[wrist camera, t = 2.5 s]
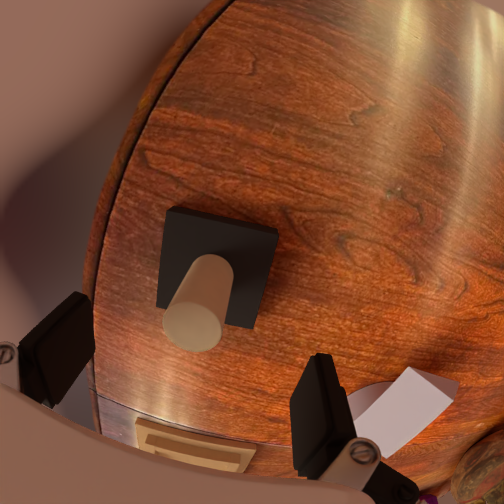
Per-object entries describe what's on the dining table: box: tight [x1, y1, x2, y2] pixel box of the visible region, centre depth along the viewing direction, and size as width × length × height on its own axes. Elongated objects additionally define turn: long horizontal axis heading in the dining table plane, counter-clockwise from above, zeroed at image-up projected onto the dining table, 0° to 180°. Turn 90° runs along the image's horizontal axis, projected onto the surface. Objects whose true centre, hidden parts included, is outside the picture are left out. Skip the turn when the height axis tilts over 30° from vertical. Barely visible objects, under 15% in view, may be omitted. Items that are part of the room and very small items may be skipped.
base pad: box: [135, 418, 257, 473], centre depth 27 cm, size 14×14×2 cm
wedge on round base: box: [347, 366, 460, 458], centre depth 21 cm, size 9×7×13 cm
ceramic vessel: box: [451, 429, 504, 504], centre depth 21 cm, size 17×26×25 cm, turn 161°
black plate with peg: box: [156, 206, 279, 352], centre depth 16 cm, size 7×7×8 cm
